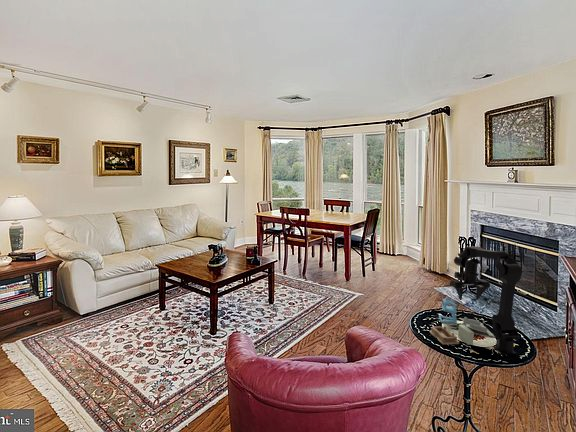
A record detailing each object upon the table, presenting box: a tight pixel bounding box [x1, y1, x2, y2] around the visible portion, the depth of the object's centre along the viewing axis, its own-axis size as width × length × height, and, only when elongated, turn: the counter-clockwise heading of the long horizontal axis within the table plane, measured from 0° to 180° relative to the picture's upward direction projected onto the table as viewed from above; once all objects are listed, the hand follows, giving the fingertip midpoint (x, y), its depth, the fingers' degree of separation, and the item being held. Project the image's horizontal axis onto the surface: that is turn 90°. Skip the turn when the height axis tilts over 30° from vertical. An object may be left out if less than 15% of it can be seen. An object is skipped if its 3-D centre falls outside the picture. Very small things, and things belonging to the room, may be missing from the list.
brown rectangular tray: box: [429, 325, 460, 345], centre depth 166 cm, size 12×8×4 cm, turn 6°
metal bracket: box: [460, 316, 496, 338], centre depth 176 cm, size 14×6×15 cm
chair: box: [438, 297, 458, 324], centre depth 185 cm, size 8×8×12 cm
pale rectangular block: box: [457, 324, 475, 346], centre depth 164 cm, size 8×3×6 cm, turn 6°
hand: (468, 299), depth 179 cm, fingers open, 9 cm apart
